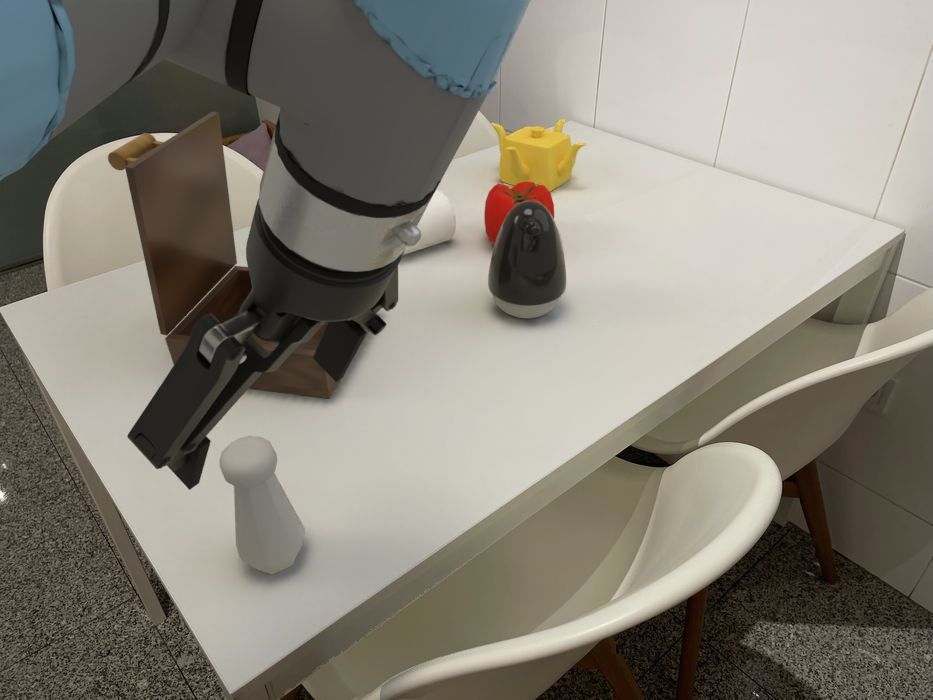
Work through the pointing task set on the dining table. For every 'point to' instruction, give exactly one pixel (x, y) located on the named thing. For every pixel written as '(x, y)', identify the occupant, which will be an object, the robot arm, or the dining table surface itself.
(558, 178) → the teapot
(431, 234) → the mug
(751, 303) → the dining table surface
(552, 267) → the black tumbler egg
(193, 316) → the wooden box
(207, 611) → the dining table surface
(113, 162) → the lid
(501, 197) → the tomato
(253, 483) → the salt shaker
